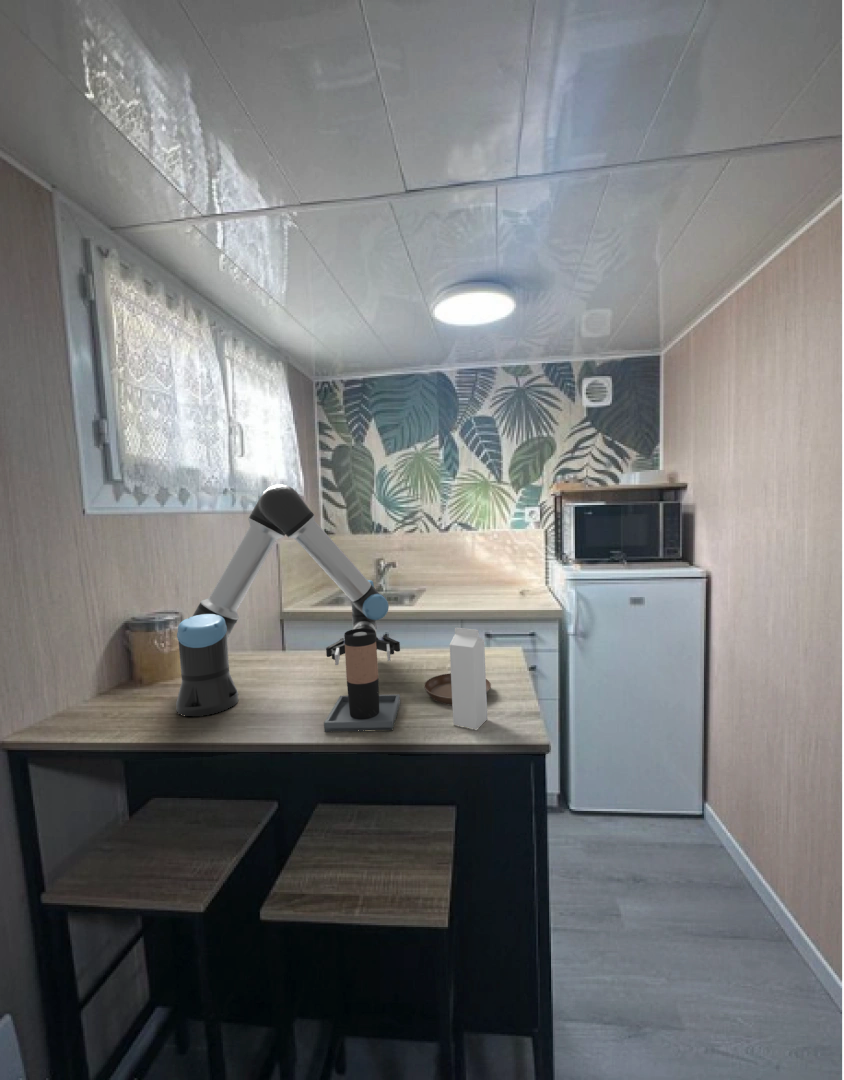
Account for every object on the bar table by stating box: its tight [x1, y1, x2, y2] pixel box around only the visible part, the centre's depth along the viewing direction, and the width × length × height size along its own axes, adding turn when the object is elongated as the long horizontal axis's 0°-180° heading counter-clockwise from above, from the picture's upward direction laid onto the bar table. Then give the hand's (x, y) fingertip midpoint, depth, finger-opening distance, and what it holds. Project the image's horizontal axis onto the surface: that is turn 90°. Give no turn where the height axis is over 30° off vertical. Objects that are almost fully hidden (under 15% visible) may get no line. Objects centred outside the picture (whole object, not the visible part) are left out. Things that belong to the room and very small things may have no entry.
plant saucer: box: [423, 672, 492, 706], centre depth 128 cm, size 18×18×3 cm
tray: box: [323, 693, 401, 733], centre depth 117 cm, size 16×16×2 cm
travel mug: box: [343, 628, 380, 719], centre depth 117 cm, size 8×8×20 cm
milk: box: [449, 627, 488, 730], centre depth 111 cm, size 6×6×22 cm
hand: (362, 658), depth 126 cm, fingers open, 13 cm apart
